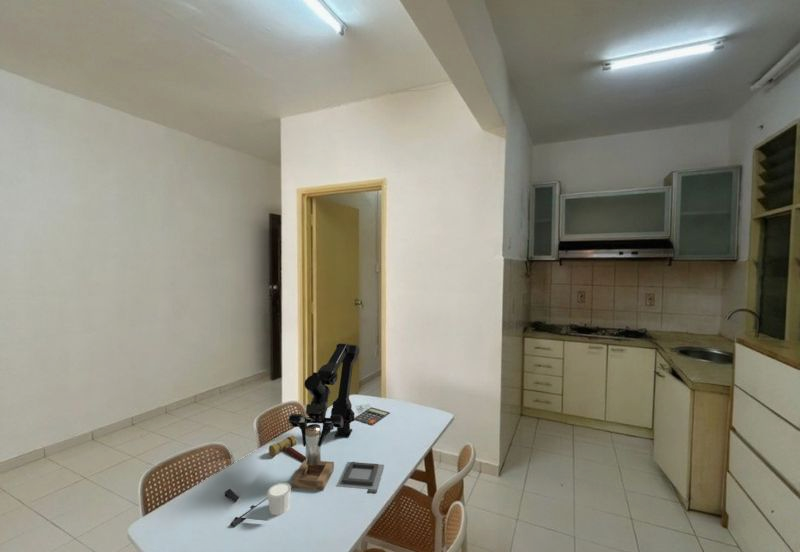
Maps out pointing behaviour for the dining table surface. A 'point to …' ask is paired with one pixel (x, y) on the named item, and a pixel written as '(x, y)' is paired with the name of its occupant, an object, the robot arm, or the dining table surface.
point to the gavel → (286, 448)
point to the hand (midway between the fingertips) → (311, 446)
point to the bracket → (234, 497)
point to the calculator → (371, 416)
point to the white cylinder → (279, 498)
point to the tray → (361, 476)
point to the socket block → (313, 475)
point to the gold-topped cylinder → (313, 444)
